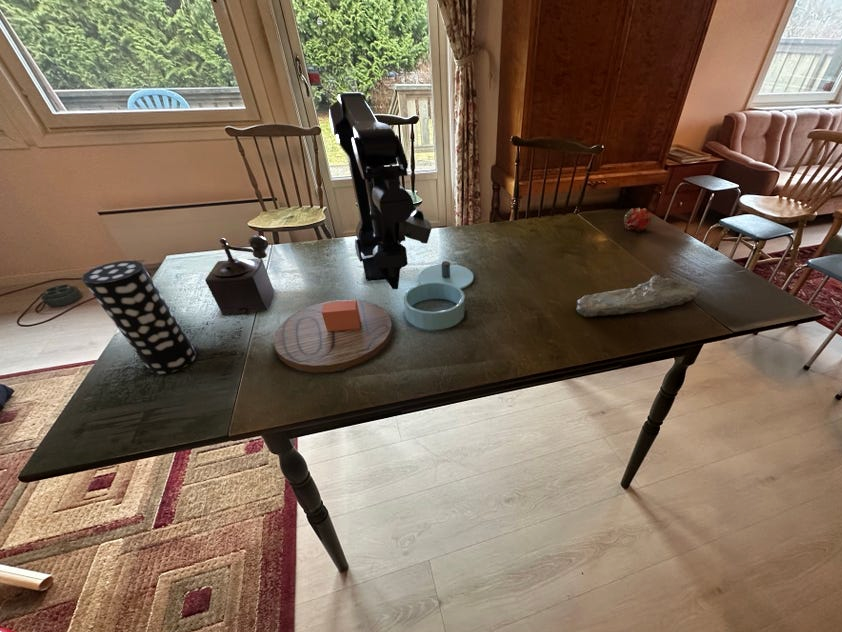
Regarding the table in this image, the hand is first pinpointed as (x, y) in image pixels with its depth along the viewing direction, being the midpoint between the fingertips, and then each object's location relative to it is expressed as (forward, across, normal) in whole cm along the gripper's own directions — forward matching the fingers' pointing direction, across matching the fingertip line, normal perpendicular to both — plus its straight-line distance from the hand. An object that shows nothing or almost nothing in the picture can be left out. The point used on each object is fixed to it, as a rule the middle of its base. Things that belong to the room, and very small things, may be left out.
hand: (395, 278), depth 81 cm
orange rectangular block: (+10, -2, +12) cm, 16 cm away
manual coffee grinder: (+12, +15, +35) cm, 40 cm away
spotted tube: (+12, -6, +46) cm, 48 cm away
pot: (+12, +2, -8) cm, 14 cm away
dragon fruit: (+12, +47, -87) cm, 100 cm away
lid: (+11, +19, -13) cm, 26 cm away
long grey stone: (+12, -1, -61) cm, 62 cm away
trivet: (+12, -3, +14) cm, 19 cm away
